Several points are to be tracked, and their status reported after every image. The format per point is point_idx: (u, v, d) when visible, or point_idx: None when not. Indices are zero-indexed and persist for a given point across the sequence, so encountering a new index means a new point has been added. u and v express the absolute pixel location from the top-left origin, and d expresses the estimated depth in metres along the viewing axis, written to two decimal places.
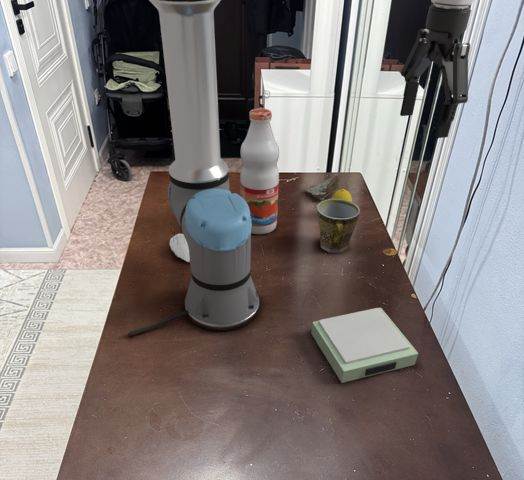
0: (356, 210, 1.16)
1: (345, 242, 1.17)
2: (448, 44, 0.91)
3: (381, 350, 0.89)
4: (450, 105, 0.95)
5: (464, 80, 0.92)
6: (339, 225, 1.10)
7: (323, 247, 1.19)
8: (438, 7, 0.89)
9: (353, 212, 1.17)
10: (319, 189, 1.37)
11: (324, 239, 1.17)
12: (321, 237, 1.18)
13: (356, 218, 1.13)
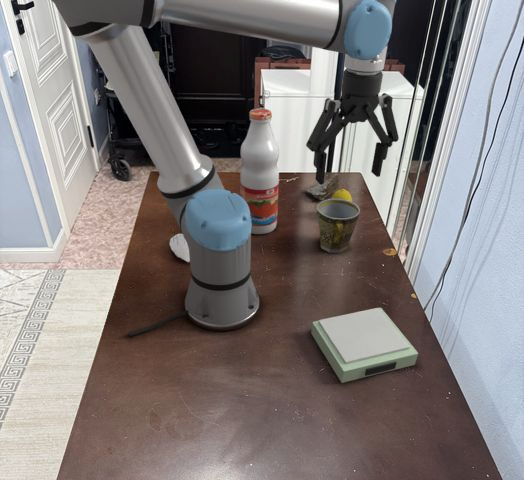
0: (356, 210, 1.16)
1: (345, 242, 1.17)
2: None
3: (381, 350, 0.89)
4: None
5: (317, 131, 0.98)
6: (339, 225, 1.10)
7: (323, 247, 1.19)
8: None
9: (353, 212, 1.17)
10: (319, 189, 1.37)
11: (324, 239, 1.17)
12: (321, 237, 1.18)
13: (356, 218, 1.13)
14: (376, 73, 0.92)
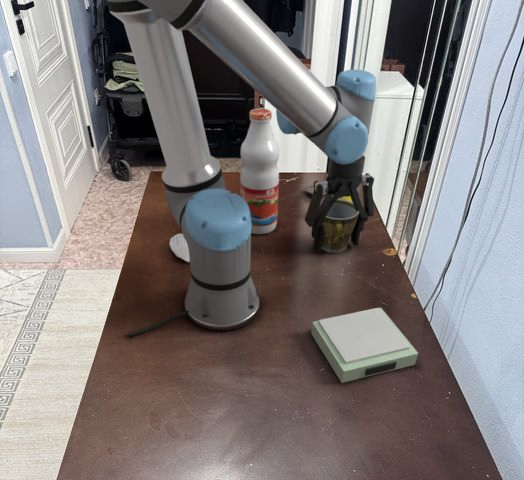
0: (355, 210, 1.16)
1: (344, 242, 1.17)
2: None
3: (381, 350, 0.89)
4: None
5: (311, 209, 1.10)
6: (338, 225, 1.10)
7: (322, 247, 1.19)
8: None
9: (352, 212, 1.17)
10: None
11: (323, 239, 1.17)
12: None
13: (355, 218, 1.13)
14: (359, 158, 1.03)
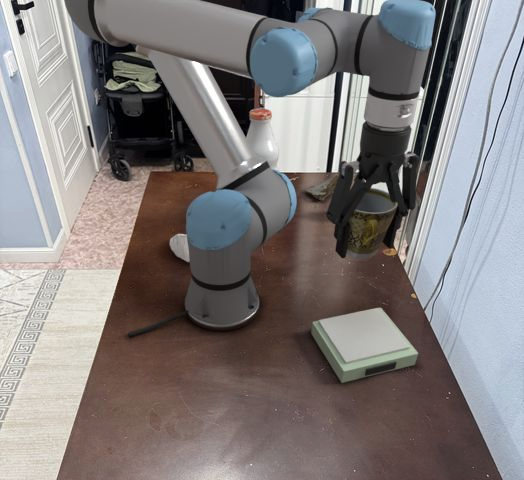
0: (391, 202, 0.88)
1: (377, 244, 0.89)
2: None
3: (381, 350, 0.89)
4: None
5: (336, 200, 0.81)
6: (373, 221, 0.82)
7: (347, 251, 0.91)
8: None
9: (386, 204, 0.89)
10: (319, 189, 1.37)
11: (349, 241, 0.89)
12: None
13: (393, 212, 0.85)
14: (404, 128, 0.74)
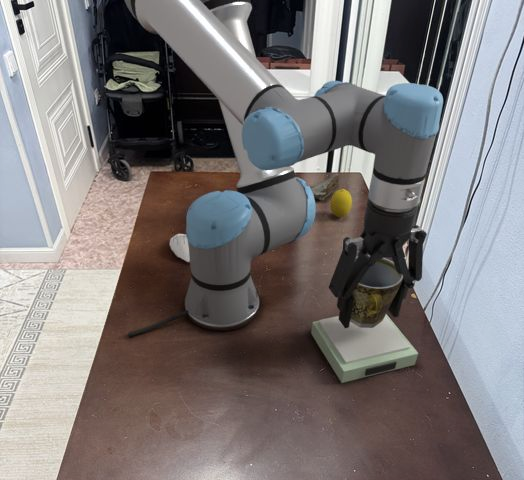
0: (397, 272, 0.85)
1: (381, 315, 0.87)
2: None
3: (381, 350, 0.89)
4: None
5: (339, 275, 0.79)
6: (376, 297, 0.79)
7: (351, 320, 0.89)
8: None
9: (392, 274, 0.87)
10: (319, 189, 1.37)
11: (353, 310, 0.87)
12: None
13: (398, 285, 0.82)
14: (410, 209, 0.72)
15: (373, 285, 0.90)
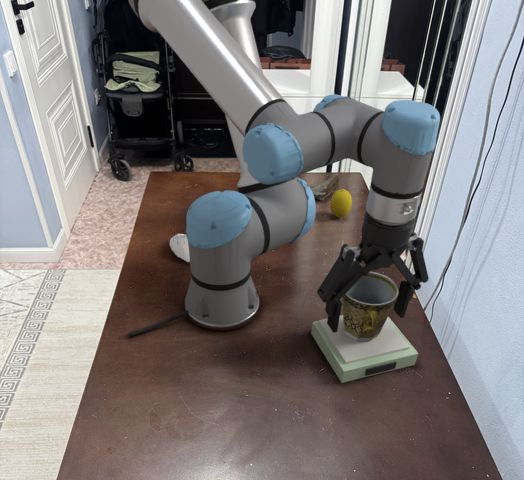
0: (392, 288, 0.88)
1: (377, 329, 0.89)
2: None
3: (381, 350, 0.89)
4: None
5: (331, 280, 0.80)
6: (372, 314, 0.82)
7: (348, 334, 0.91)
8: None
9: (388, 290, 0.89)
10: (319, 189, 1.37)
11: (350, 325, 0.89)
12: (346, 322, 0.89)
13: (394, 302, 0.84)
14: (406, 222, 0.74)
15: (370, 300, 0.92)
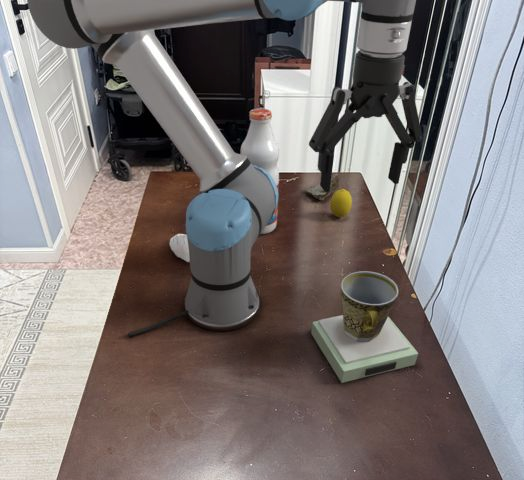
0: (392, 288, 0.88)
1: (377, 329, 0.89)
2: None
3: (381, 350, 0.89)
4: None
5: (322, 127, 0.80)
6: (372, 314, 0.82)
7: (348, 334, 0.91)
8: None
9: (388, 290, 0.89)
10: (319, 189, 1.37)
11: (350, 325, 0.89)
12: (346, 322, 0.89)
13: (394, 302, 0.84)
14: (396, 55, 0.74)
15: (370, 300, 0.92)
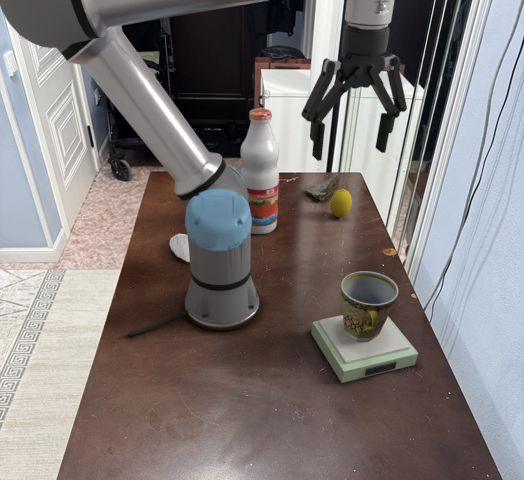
0: (392, 288, 0.88)
1: (377, 329, 0.89)
2: None
3: (381, 350, 0.89)
4: None
5: (313, 97, 0.85)
6: (372, 314, 0.82)
7: (348, 334, 0.91)
8: None
9: (388, 290, 0.89)
10: (319, 189, 1.37)
11: (350, 325, 0.89)
12: (346, 322, 0.89)
13: (394, 302, 0.84)
14: (382, 27, 0.79)
15: (370, 300, 0.92)
